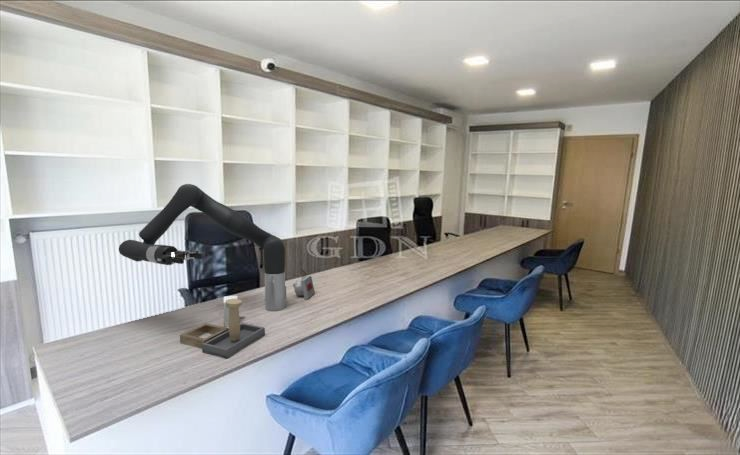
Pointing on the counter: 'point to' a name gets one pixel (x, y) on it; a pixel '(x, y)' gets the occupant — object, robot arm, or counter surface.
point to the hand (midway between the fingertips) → (192, 258)
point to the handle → (234, 318)
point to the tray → (227, 348)
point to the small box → (227, 309)
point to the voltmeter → (304, 287)
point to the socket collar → (193, 334)
